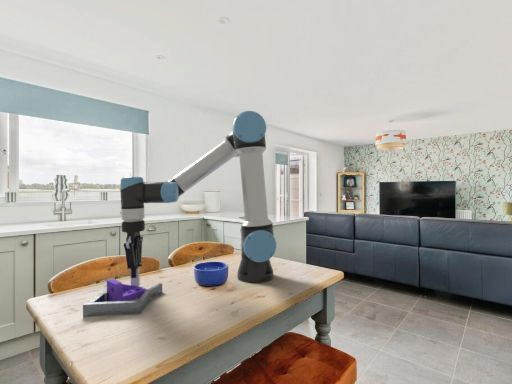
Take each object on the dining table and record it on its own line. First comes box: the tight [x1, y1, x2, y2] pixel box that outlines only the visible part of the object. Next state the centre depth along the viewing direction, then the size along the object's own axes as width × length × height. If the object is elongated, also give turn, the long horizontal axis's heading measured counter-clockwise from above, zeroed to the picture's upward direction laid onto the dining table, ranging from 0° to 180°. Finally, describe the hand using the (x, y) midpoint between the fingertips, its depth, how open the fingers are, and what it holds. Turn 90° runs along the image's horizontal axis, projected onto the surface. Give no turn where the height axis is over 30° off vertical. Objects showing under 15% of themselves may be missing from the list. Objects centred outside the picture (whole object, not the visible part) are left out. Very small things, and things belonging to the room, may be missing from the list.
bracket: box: [106, 278, 149, 302], centre depth 95 cm, size 12×7×7 cm, turn 141°
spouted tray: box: [82, 282, 163, 318], centre depth 91 cm, size 20×19×4 cm
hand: (135, 285), depth 100 cm, fingers closed
